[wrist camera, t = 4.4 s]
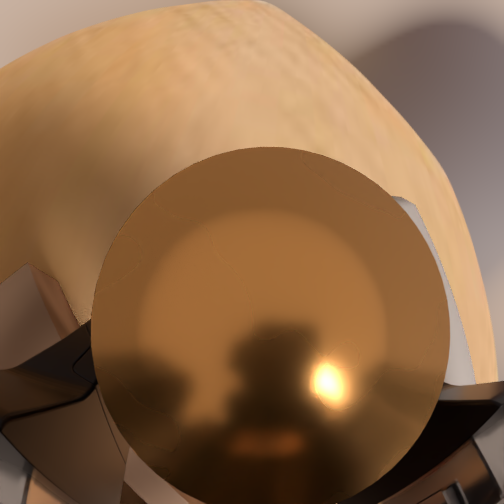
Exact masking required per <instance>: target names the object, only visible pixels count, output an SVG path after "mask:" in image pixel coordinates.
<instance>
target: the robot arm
mask: <svg viewBox="0 0 504 504" xmlns="http://www.w3.org/2000/svg"><path fill="white" fill-rule="evenodd" d="M129 448H130V446H129V444H128V443H127V441H126V440H125V439H124V437H123V436H122V435H121V433H120V432H119V430H118V428H117V426H116V425H115V423H114V421H113V419H112V417H111V415H110V413H109V411H108V409H107V407H106V405H105V402H104V400H103V397H102V394H101V391H100V387H99V384H98V381H97V378H96V374H95V368H94V362H93V355H92V348H91V319H90V320H89V321H87V322H86V323H85V324H83V325H82V326H80V327H79V328H78V329H76V330H75V331H73V332H72V333H70V334H69V335H68V336H66V337H65V338H63V339H62V340H60V341H58V342H57V343H55V344H53V345H52V346H50V347H48V348H47V349H45V350H43V351H42V352H40V353H38V354H37V355H35V356H33V357H32V358H30V359H28V360H26V361H25V362H23V363H21V364H20V365H18V366H16V367H13V368H9V369H3V370H0V504H120V499H121V493H122V486H123V481H124V475H125V469H126V464H127V458H128V453H129ZM337 504H504V381H500V382H492V383H483V384H474V385H462V386H458V385H451V384H448V383H445V382H444V383H443V386H442V390H441V393H440V396H439V399H438V401H437V404H436V406H435V408H434V410H433V413H432V415H431V417H430V419H429V421H428V422H427V424H426V426H425V428H424V429H423V431H422V433H421V434H420V436H419V437H418V439H417V440H416V441H415V443H414V444H413V445H412V447H411V448H410V449H409V451H408V452H407V453H406V454H405V455H404V456H403V458H402V459H401V460H400V461H399V462H398V463H397V464H396V465H395V466H394V467H393V468H392V469H391V470H390V471H388V472H387V473H386V474H385V475H383V476H382V477H381V478H380V479H378V480H377V481H376V482H375V483H373V484H372V485H370V486H369V487H367V488H365V489H364V490H362V491H360V492H359V493H357V494H355V495H354V496H352V497H349V498H347V499H345V500H343V501H341V502H338V503H337Z"/></svg>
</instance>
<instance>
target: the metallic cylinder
mask: <svg viewBox="0 0 504 504" xmlns="http://www.w3.org/2000/svg"><path fill="white" fill-rule="evenodd" d="M91 348H92V355H93V362H94V368H95V374H96V378H97V381H98V384H99V387H100V391H101V394H102V397H103V400H104V402H105V405H106V407H107V409H108V411H109V413H110V415H111V417H112V419H113V421H114V423H115V425H116V426H117V428H118V430H119V432H120V433H121V435H122V436H123V437H124V439H125V440H126V441H127V443H128V444H129V446H130V447H131V448H132V449H133V451H134V452H135V453H136V455H137V456H138V457H139V458H140V459H141V460H142V461H143V462H144V463H145V464H146V465H147V466H148V467H149V468H150V469H152V470H153V471H154V472H155V473H156V474H157V475H158V476H159V477H161V478H162V479H164V480H165V481H166V482H168V483H169V484H171V485H172V486H174V487H175V488H176V489H178V490H179V491H181V492H183V493H185V494H187V495H189V496H191V497H193V498H195V499H197V500H199V501H201V502H203V503H206V504H336V503H338V502H341V501H343V500H345V499H347V498H349V497H352V496H354V495H355V494H357V493H359V492H360V491H362V490H364V489H365V488H367V487H369V486H370V485H372V484H373V483H375V482H376V481H377V480H378V479H380V478H381V477H382V476H383V475H385V474H386V473H387V472H388V471H390V470H391V469H392V468H393V467H394V466H395V465H396V464H397V463H398V462H399V461H400V460H401V459H402V458H403V456H404V455H405V454H406V453H407V452H408V451H409V449H410V448H411V447H412V445H413V444H414V443H415V441H416V440H417V439H418V437H419V436H420V434H421V433H422V431H423V429H424V428H425V426H426V424H427V422H428V421H429V419H430V417H431V415H432V413H433V410H434V408H435V406H436V404H437V401H438V399H439V396H440V393H441V390H442V386H443V383H444V380H445V375H446V370H447V365H448V359H449V349H450V317H449V309H448V302H447V296H446V292H445V288H444V284H443V280H442V277H441V274H440V271H439V268H438V266H437V263H436V260H435V258H434V256H433V254H432V252H431V250H430V248H429V246H428V244H427V242H426V240H425V238H424V237H423V235H422V234H421V232H420V230H419V229H418V227H417V226H416V224H415V223H414V222H413V220H412V219H411V218H410V216H409V215H408V214H407V213H406V211H405V210H404V209H403V208H402V207H401V206H400V205H399V204H398V203H397V202H396V201H395V200H394V199H393V197H392V196H390V195H389V194H388V193H387V192H386V191H385V190H383V189H382V188H381V187H380V186H379V185H378V184H376V183H375V182H373V181H372V180H370V179H369V178H368V177H366V176H365V175H363V174H362V173H360V172H358V171H356V170H355V169H353V168H351V167H349V166H347V165H345V164H343V163H341V162H338V161H336V160H333V159H331V158H328V157H326V156H323V155H319V154H316V153H312V152H308V151H304V150H298V149H291V148H283V147H256V148H247V149H239V150H234V151H230V152H226V153H222V154H218V155H215V156H212V157H210V158H207V159H205V160H202V161H200V162H197V163H195V164H193V165H191V166H189V167H187V168H186V169H184V170H182V171H180V172H179V173H177V174H175V175H173V176H172V177H171V178H169V179H168V180H167V181H165V182H164V183H163V184H161V185H160V186H159V187H158V188H156V189H155V190H154V191H153V192H152V193H151V194H150V195H149V196H148V197H147V198H146V199H145V200H144V201H143V202H142V203H141V204H140V205H139V206H138V207H137V208H136V209H135V210H134V211H133V213H132V214H131V215H130V217H129V218H128V220H127V221H126V222H125V224H124V225H123V227H122V228H121V229H120V231H119V232H118V234H117V236H116V238H115V240H114V242H113V244H112V246H111V248H110V250H109V252H108V254H107V256H106V258H105V260H104V263H103V266H102V269H101V272H100V275H99V278H98V281H97V284H96V289H95V295H94V301H93V307H92V313H91Z"/></svg>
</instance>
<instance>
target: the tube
mask: <svg viewBox="0 0 504 504" xmlns="http://www.w3.org/2000/svg"><path fill="white" fill-rule="evenodd" d="M392 197H393V199H394V200H395V201H396V202H397V203H398V204H399V205H400V206H401V207H402V208H403V209H404V210H405V211H406V213H407V214H408V215H409V216H410V218H411V219H412V220H413V222H414V223H415V224H416V226H417V227H418V229H419V230H420V232H421V234H422V235H423V237H424V238H425V240H426V242H427V244H428V246H429V248H430V250H431V252H432V254H433V256H434V258H435V260H436V263H437V266H438V268H439V271H440V274H441V277H442V280H443V284H444V288H445V292H446V296H447V302H448V309H449V317H450V349H449V359H448V365H447V370H446V375H445V380H444V382H445V383H448V384H451V385H458V386H462V385H474V384H476V381H475V375H474V370H473V365H472V361H471V356H470V352H469V348H468V344H467V340H466V336H465V332H464V329H463V325H462V322H461V318H460V315H459V312H458V308H457V305H456V302H455V299H454V296H453V293H452V290H451V287H450V285H449V282H448V279H447V276H446V274H445V271H444V268H443V266H442V263H441V261H440V258H439V256H438V253H437V251H436V249H435V246H434V244H433V242H432V239H431V237H430V235H429V233H428V231H427V228H426V226H425V224H424V222H423V220H422V218H421V216H420V214H419V212H418V210H417V208H416V206H415V205H414V204H413V203H411V202H409V201H407V200H405V199H404V198H402V197H395V196H392Z"/></svg>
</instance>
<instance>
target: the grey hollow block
mask: <svg viewBox="0 0 504 504" xmlns="http://www.w3.org/2000/svg"><path fill="white" fill-rule="evenodd" d="M79 327H80V326H79V324H78V322H77V320H76V318H75V316H74V314H73V312H72V310H71V308H70V306H69V304H68V302H67V300H66V298H65V296H64V294H63V292H62V290H61V287H60V285H59V283H58V281H56V280H55V279H53V278H52V277H50V276H48V275H47V274H45V273H44V272H42V271H40V270H39V269H37V268H36V267H34V266H33V265H31V264H30V263H26V264H25V265H24V266H23V267H21V268H20V269H19V270H17V271H16V272H15V273H13V274H12V275H11V276H10V277H8V278H7V279H6V280H5V281H3V282H2V283H1V284H0V370H3V369H9V368H13V367H16V366H18V365H20V364H21V363H23V362H25V361H26V360H28V359H30V358H32V357H33V356H35V355H37V354H38V353H40V352H42V351H43V350H45V349H47V348H48V347H50V346H52V345H53V344H55V343H57V342H58V341H60V340H62V339H63V338H65V337H66V336H68V335H69V334H70V333H72V332H73V331H75V330H76V329H78V328H79ZM124 481H125V482H126V483H127V484H128V485H129V486H130V487H131V488H132V489H133V490H134V491H135V492H136V493H137V494H138V495H139V496H140V497H141V498H142V499H143V500H144V501H145V502H146V503H147V504H206V503H203V502H201V501H199V500H197V499H195V498H193V497H191V496H189V495H187V494H185V493H183V492H181V491H179V490H178V489H176V488H175V487H174V486H172V485H171V484H169V483H168V482H166V481H165V480H164V479H162V478H161V477H159V476H158V475H157V474H156V473H155V472H154V471H153V470H152V469H150V468H149V467H148V466H147V465H146V464H145V463H144V462H143V461H142V460H141V459H140V458H139V457H138V456H137V455H136V453H135V452H134V451H133V449H132V448H131V447H130V448H129V453H128V458H127V464H126V469H125V475H124Z"/></svg>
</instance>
